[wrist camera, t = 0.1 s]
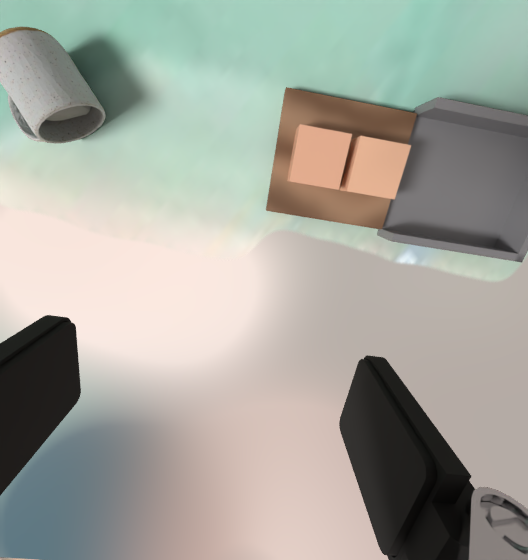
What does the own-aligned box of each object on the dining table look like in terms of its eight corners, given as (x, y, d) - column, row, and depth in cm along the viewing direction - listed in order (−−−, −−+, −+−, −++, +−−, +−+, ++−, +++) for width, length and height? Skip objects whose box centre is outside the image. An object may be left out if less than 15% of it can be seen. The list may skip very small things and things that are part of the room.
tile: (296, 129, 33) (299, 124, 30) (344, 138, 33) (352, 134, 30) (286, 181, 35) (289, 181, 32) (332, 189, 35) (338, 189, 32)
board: (284, 91, 33) (286, 87, 31) (410, 116, 34) (417, 113, 33) (266, 209, 37) (266, 210, 36) (376, 227, 39) (381, 229, 37)
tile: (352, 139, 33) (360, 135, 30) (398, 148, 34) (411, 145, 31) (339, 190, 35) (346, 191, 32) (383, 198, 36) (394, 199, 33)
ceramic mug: (71, 43, 31) (13, 2, 24) (118, 116, 33) (78, 98, 26) (4, 96, 33) (-69, 72, 25) (53, 161, 35) (-1, 156, 28)
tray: (415, 107, 34) (437, 97, 29) (548, 134, 35) (588, 128, 31) (376, 234, 39) (391, 241, 35) (494, 253, 40) (521, 262, 36)
